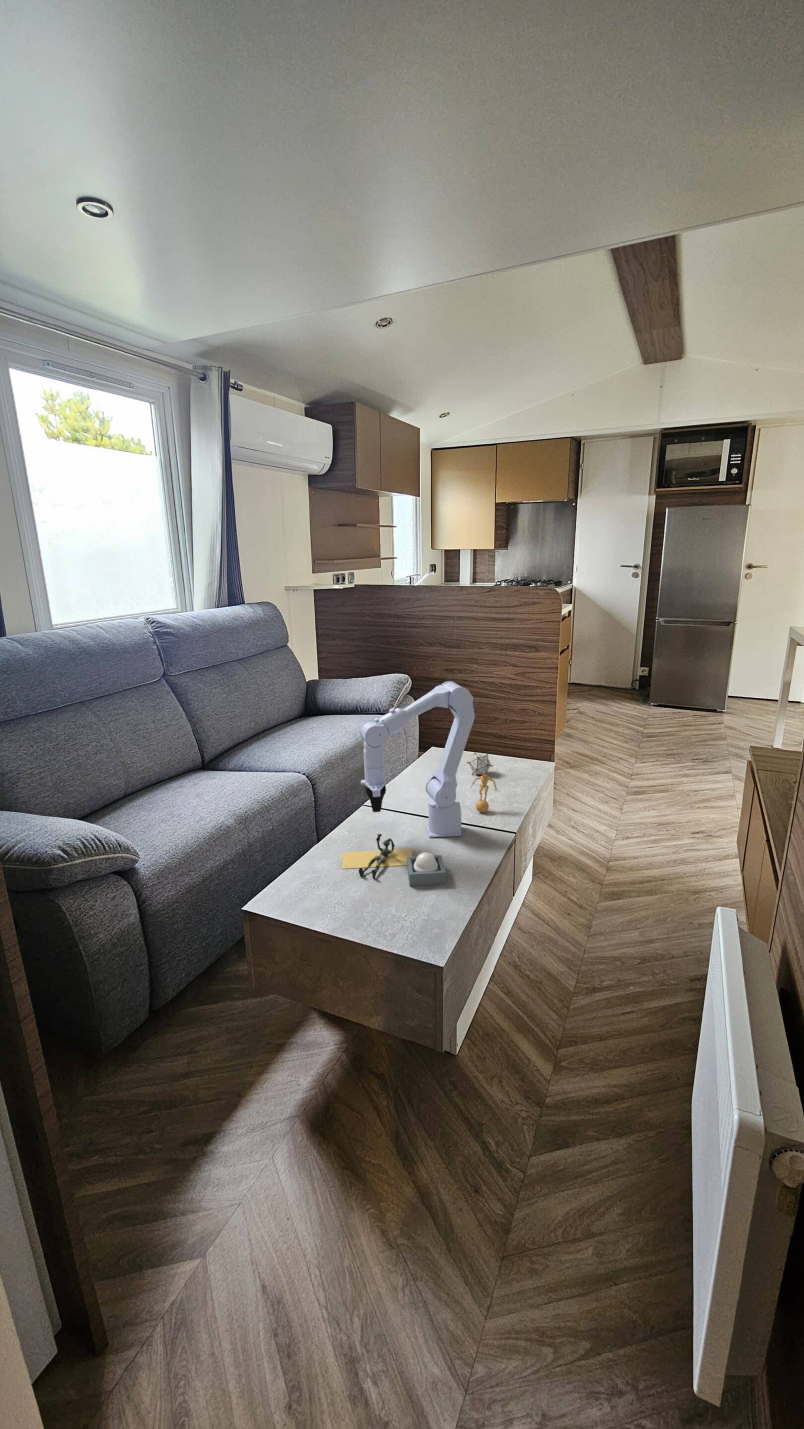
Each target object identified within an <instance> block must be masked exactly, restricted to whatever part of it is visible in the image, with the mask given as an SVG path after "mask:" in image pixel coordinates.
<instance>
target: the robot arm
mask: <svg viewBox="0 0 804 1429" xmlns="http://www.w3.org/2000/svg"><path fill="white" fill-rule="evenodd" d="M473 701H474V696H472V694H471V692H470V690H469V689H468V688H466V687H464V686H461V685H459V684H458V683H456V682H455V681H451V680H448V681H444V682H443V683H441V685H440V684H439V685H437V686H435V687H434V688H433V689H432V690H430V691H428V693H426V694H425V695H423V696H421V697H420V698H418V699H417V700H415V701H414V702H413V703H411V704H409V705H407V706H406V707H404V708H400V707H396V708H394V707H392V708H390V709H389V710H388V711H389V712H388V713H386V714H384V715H382V716H380V717H376V718H374V721H368V722H366V723H364V724H363V725H362V727H361V731H360V732H359V734H360V737H361V738H362V739H363V765H364V768H363V769H364V779H361V780H360V785H362V786H365V794H366V795H367V796H368V799H369V801H370V802H369V803H370V806H371V809H372V810H371V811H372V812H373V813H380V812H381V810H382V806H383V800H384V797H385V795H386V792H387V789H386V786H387V785H386V784H387V779H386V759H385V756H386V754H385V743H386V741H387V739H388V738H390V737H392V736H393V735H395V734H396V733H398V732H400V731H401V730H403V729H405V728H407V727H408V726H409V723H410V721H411V720H412V719H413V718H416V717H417V716H420V715H421V714H423V713H425V712H428V711H429V710H431V709H433V708H436V707H439V708H447V709H448V708H449V710H450V711H451V713H452V715H453V717H454V718H453V722H452V725H451V728H450V731H449V734H448V737H447V740H446V743H445V746H444V749H443V752H442V755H441V758H440V760H439V765H438V767H437V768H436V769H435V770H433V771H432V774H431V777H430V778H429V779H428V780H427V781H426V783H425V787H424V788H425V792H426V793H427V795H428V796H429V797H428V801H427V803H428V804H427V805H428V810H427V811H428V823H427V824H426V825H425V826H426V830H427V835H428V837H429V838H443V837H461V836H462V835H463V834H462V808H461V802H459V801H456V799H457V786H458V782H457V776H456V774H457V772H458V769H459V766H460V763H461V760H462V757H463V754H464V751H465V749H466V744H467V742H468V739H469V737H470V733H471V730H472V728H473V727H472V726H473V724H474V721H475V717H476V714H475V708H474V704H473Z"/></svg>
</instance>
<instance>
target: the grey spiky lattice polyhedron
mask: <svg viewBox="0 0 804 1429" xmlns="http://www.w3.org/2000/svg"><path fill="white" fill-rule="evenodd" d="M466 763H467V764H468V765H469V767H470V768H471V771H472V773H471V776H473V775H475V774H476V775H481V776H483V774H486V775H487V772H488V771H489V770H490V768H491V767H492V768H493V767H494V765H492V764H491V762H490V759H489V753H487V754H480V753H479V754H478V753H476V752H474V755H473V757H472V758H471V760H470V761H467V762H466Z"/></svg>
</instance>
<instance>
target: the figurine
mask: <svg viewBox="0 0 804 1429" xmlns="http://www.w3.org/2000/svg"><path fill="white" fill-rule="evenodd" d="M478 780H480V781H481V784H480V785H479V791H478V793H479V795H480V797H479V800H478V801H477V802H476V803H475V804H476V805H475V808H476V810H477V811H478V812H479V813H486V812H487V811H488V810H489V808H490V806H489V803H488V801H487V796H488V791H489V790H488V789H489V785H487V784H488V782H489V781H490V782H493V786H494V790H495V792H497V790H498V789H497V785H496V781H495V780H494V779H492V778H491V777H490V776H489V775H488V774H487V773H486V774H483V775H481V776H478V777H476V778H474V780H473V782H472V784H470V789H472V788H473V786H474V784H475V783H476V781H478ZM483 791H484V795H485V796H484V799H483V793H482V792H483Z"/></svg>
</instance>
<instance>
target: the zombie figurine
mask: <svg viewBox="0 0 804 1429" xmlns="http://www.w3.org/2000/svg"><path fill="white" fill-rule="evenodd" d="M376 836H377V837H376V838H375V841H376V844H377V849H378V850H380V851H381V853H380V855H379V856H375V857H374V858H373V859H372V860H371V861H370V863H369V865H368V866H367V867H366V868H358V874H359V877H364V875H365V872H366V871H368V870H369V869H370V868H371V867H370V866H371V865H372V864H373V863H374V862H375V861H378V862H377V865H376V867H375V869H372V870H371V874H372V879H373V880H376V876H377V873H378V872H379V870H380V867H379V866H380V862H385V859H386V857H387V856H388V855H389V854H390V853H392V852H393V850H395V843H394V841H393V839H392V838H389V837H388V838H387V839H385V840H384V841H383V842H382V843H381V845H383V847H384V848H382V847H381V845H380V841H381V837H382V836H383V834H382V833H378V834H376ZM390 846H391V849H389V847H390Z"/></svg>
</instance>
